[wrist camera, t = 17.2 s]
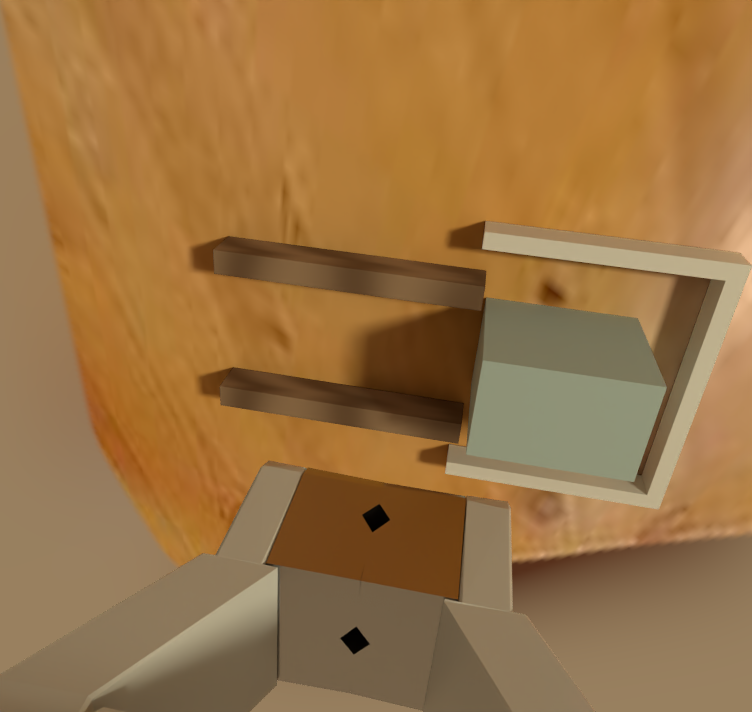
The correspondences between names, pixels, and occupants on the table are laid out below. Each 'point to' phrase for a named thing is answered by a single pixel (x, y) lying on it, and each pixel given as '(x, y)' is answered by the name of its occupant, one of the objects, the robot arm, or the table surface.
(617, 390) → the block
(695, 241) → the table surface
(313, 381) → the chute
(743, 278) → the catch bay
